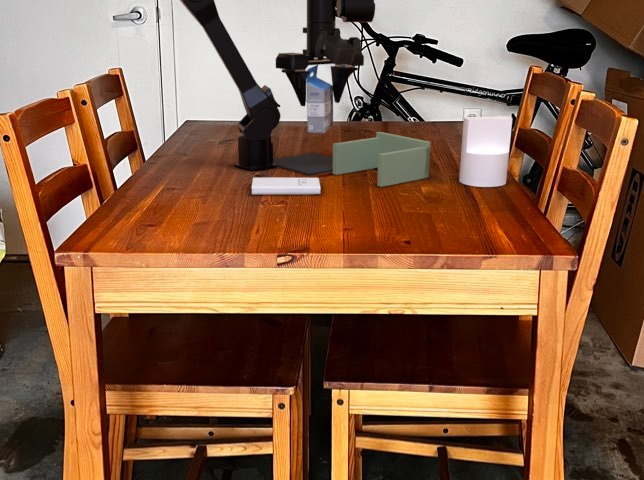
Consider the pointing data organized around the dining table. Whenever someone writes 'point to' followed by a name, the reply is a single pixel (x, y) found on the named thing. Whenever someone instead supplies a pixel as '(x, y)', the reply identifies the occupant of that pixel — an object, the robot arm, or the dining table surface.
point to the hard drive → (285, 186)
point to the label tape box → (319, 103)
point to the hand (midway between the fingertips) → (320, 104)
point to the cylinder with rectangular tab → (485, 151)
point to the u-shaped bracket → (384, 158)
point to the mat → (306, 163)
